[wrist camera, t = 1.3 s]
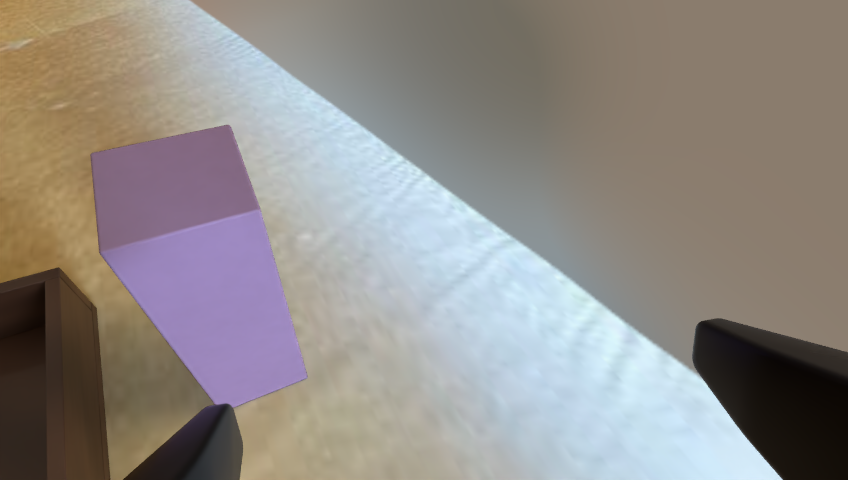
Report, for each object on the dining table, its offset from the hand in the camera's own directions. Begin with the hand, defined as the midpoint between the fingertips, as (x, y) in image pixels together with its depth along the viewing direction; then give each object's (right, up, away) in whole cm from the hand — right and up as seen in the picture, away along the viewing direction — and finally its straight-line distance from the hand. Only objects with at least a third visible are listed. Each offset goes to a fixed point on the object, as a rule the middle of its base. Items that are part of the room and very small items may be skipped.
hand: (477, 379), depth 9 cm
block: (-10, -3, +15) cm, 18 cm away
